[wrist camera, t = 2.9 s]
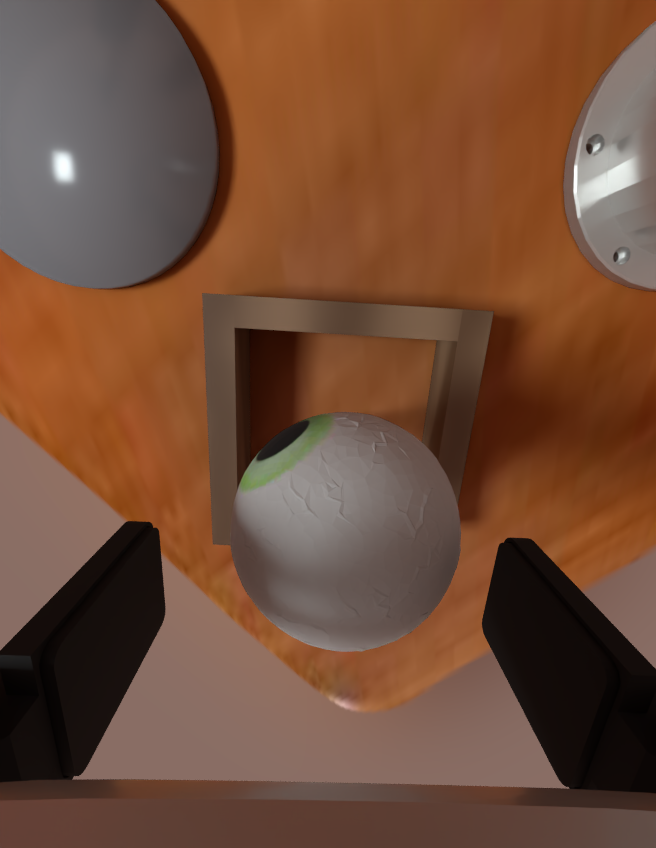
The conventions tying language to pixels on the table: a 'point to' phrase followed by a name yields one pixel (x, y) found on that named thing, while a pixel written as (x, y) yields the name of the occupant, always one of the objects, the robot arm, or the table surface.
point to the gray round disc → (101, 141)
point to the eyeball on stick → (345, 531)
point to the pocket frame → (236, 315)
